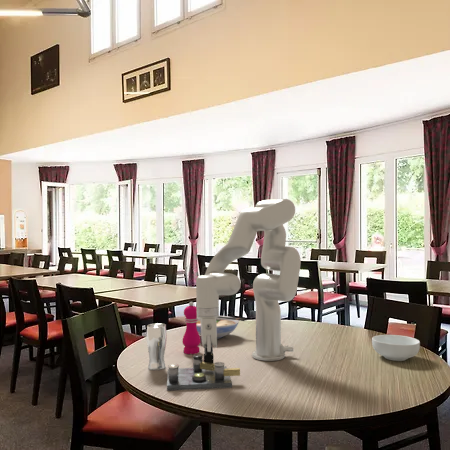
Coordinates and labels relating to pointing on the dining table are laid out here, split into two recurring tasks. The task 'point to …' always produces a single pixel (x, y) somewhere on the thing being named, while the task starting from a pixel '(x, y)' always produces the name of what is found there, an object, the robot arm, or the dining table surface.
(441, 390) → the dining table surface
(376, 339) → the cereal bowl
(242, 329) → the dining table surface
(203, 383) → the base plate
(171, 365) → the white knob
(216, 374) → the grey knob
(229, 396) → the dining table surface
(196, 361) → the tan lever handle
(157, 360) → the beer glass
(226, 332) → the ramen bowl
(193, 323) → the pepper mill
